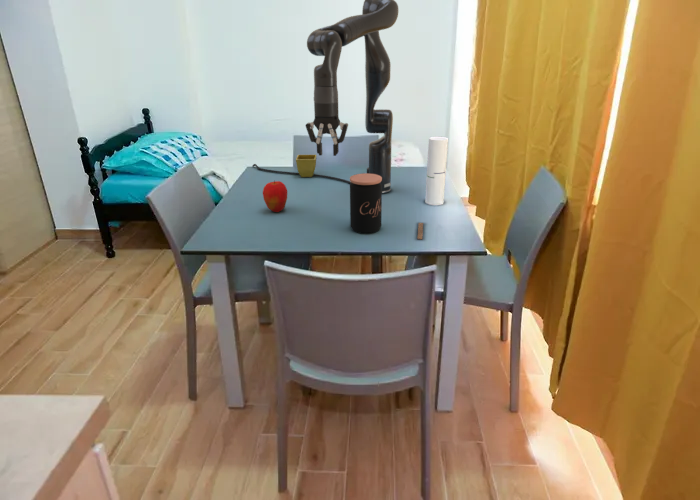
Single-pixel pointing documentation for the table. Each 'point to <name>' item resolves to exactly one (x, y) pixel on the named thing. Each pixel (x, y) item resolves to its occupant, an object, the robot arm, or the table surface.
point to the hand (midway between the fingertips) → (327, 154)
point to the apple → (275, 195)
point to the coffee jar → (365, 203)
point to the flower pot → (306, 165)
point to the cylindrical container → (436, 170)
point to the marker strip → (420, 231)
